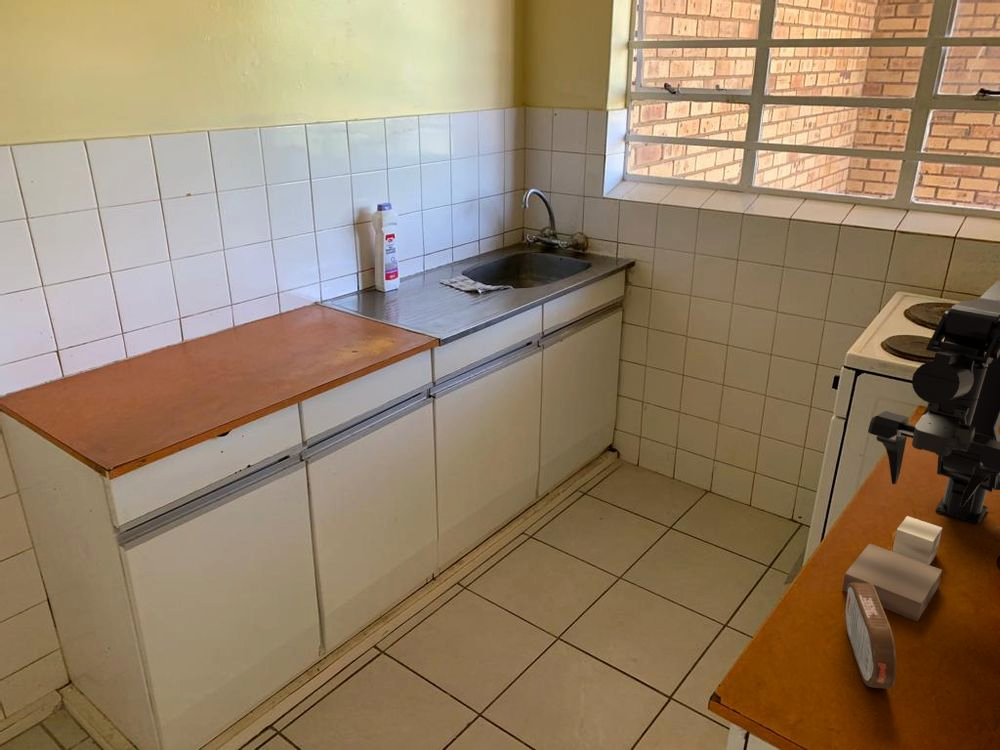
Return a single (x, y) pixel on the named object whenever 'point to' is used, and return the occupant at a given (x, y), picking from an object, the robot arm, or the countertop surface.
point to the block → (917, 540)
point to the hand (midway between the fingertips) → (927, 494)
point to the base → (895, 580)
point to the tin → (870, 636)
